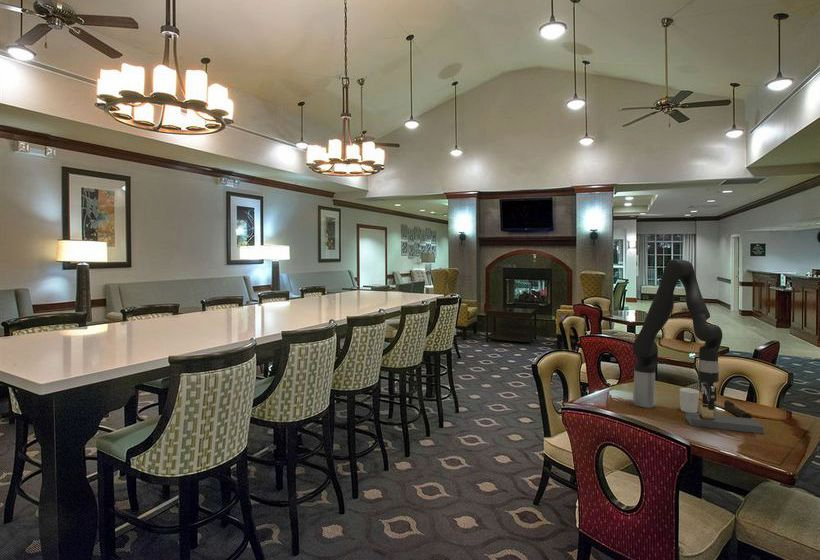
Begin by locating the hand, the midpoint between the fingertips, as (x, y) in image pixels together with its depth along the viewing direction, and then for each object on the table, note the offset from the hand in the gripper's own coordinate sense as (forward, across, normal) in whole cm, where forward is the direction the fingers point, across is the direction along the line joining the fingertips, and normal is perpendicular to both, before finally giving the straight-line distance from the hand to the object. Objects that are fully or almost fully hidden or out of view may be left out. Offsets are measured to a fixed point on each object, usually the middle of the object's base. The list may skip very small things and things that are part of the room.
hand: (708, 406), depth 196 cm
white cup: (+8, -18, -3) cm, 20 cm away
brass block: (+8, 0, -1) cm, 8 cm away
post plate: (+8, 0, +5) cm, 9 cm away
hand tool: (+8, -20, +16) cm, 27 cm away
